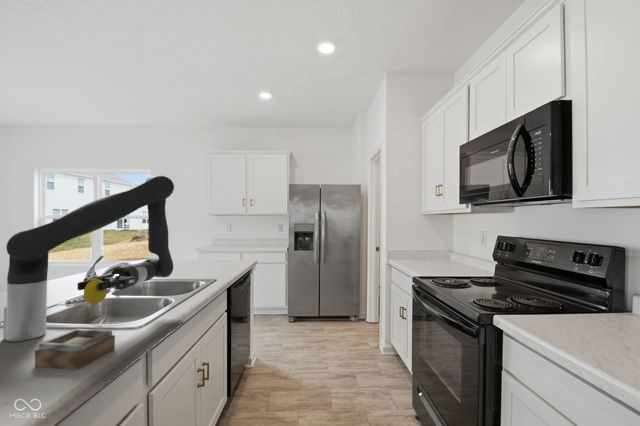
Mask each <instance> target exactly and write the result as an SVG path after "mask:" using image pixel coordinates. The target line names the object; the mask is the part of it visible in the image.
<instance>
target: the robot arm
mask: <svg viewBox="0 0 640 426" xmlns="http://www.w3.org/2000/svg"><path fill="white" fill-rule="evenodd" d="M174 191H175V184H174V181H173V180H172V179H171V178H170V177H167V176H165V175H161V174H159V175H153V176H150V177H148V178H147V179H146V180H145V182H142V183H141V184H139V185H137V186H135V187H132V188H131V189H128V190H125V191H120V192H117V193H113V194H109V195H107V196H103V197H101V198H98V199H96V200H93V201H91V202H89V203H87V204H83V205H82V206H80V207H78V208H76V209H74V210H72V211H70V212H69V213H66V215H64V216H61V217H60V218H58V219H56V220H54V221H51V222H48V223H46V224H43V225H40V226H38V227H33V228H30V229H28V230H27V229H26V230H23V231H19V232H17V233H15V234H13V235H12V236H11V237H10V238H9V239H8V241H7V242H6V252H7V254H8V255H9V257H8V258H9V261H8V263H9V265H8V270H7V271H8V272H7V278H6V279H7V280H6V281H7V283H6V306H5V307H4V308H3V328H2V329H3V333H2V334H3V335H2V336H3V337H2V339H3V340H5V341H6V342H13V343H14V342H25V341H29V340H34V339H38V338H39V337H42V336H45V334H46V333H47V311H48V310H47V300H48V299H47V298H48V269H49V252H50V251H51V250H53V249H55V248H56V247H59V246H61V245H62V244H64V243H66V242H69V241H70V240H73V239H76V238H79V237H82V236H84V235H88V234H90V233H93V232H95V231H97V230H100V229H103V228H104V227H107V226H108V225H110V224H113V223H116V222H117V221H119V220H120V219H123V218H125V217H126V216H129V215H130V214H132V213H134V212H136V211H137V210H139V209H141V208H144V207H145V206H147V214H148V215H147V216H148V217H147V218H148V221H147V222H148V223H147V224H148V227H147V228H148V229H147V231H148V234H147V237H148V240H147V241H148V244H147V245H148V246H147V249H148V252H149V253H151V254H155V255H157V257H158V258H147V259H145V260H144V261H142V262H139V263H138V262H137V263H130V264H126V265H121V266H117V267H115V268H113V269H112V270H111V271H110V273H105V274H104V275H97V274H95V275H92V276H89V277H86V278H83V281H79V282H78V283H77V288H76V289H77V291H84V289H85V286H86V285H87V283H88V282H90V281H92V280H94V279H95V278H97V279H99V280H102V281H103V282H101V283H98V284H97V291H102V290H105V289H107V290H108V289H110V290H111V289H116V290H118V291H120V290H126V289H129V288H133V287H134V286H137V285H140V284H142V283H144V282H148V281H150V280H152V279H153V278H155V277H156V278H167V277H170V276H171V274H172V273H173V271H174V261H173V259H172V255H171V252H170V248H169V228H168V227H169V226H168V222H167V216H166V201H167V199H168V198H169V197H170V196H171V195H172V194H173V192H174Z"/></svg>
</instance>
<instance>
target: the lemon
mask: <svg viewBox="0 0 640 426" xmlns="http://www.w3.org/2000/svg"><path fill="white" fill-rule="evenodd" d="M101 282H103V281H102V280H99V279H97V278H95V279H94V280H92V281H90V282H88V283H87V285H86V286H85V289H83V297H84V300H85V301H86V302H87V303H88V304H91V305H93V306H97V305H98V304H99V303H101V302H103V301H104V300H105V298H106V297H107V294H108V289H105V290H102V291H97V284H98V283H101Z"/></svg>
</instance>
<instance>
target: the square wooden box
mask: <svg viewBox="0 0 640 426" xmlns="http://www.w3.org/2000/svg"><path fill="white" fill-rule="evenodd" d="M115 339H116V335H114V334H113V330H109V329H106V330H105V329H89V328H86V329H85V328H75V329H72V330H70V331H68V332H65V333H63V334H60V335H58V336H56V337H55V336H54V337H53V338H49V339H47V340H46V341H42V342H40V343H38V349H35V351H34V367H38V368H39V367H40V368H55V369H67V370H80V369H81V368H83V367H85V366H87V365H88V364H91V363H92V362H94V361H96V360H98V359H100V358H102V357H104V356H105V355H107V354H109V353H110V352H112V351H114V350H115V347H116V343H115V342H116V340H115Z"/></svg>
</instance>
